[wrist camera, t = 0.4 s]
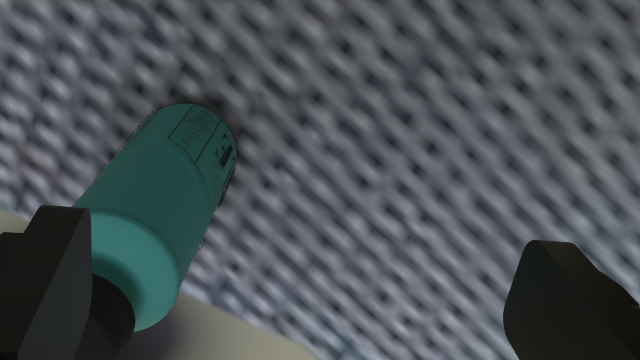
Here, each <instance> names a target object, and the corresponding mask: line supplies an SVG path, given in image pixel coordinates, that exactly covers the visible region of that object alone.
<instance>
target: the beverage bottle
mask: <svg viewBox="0 0 640 360" xmlns="http://www.w3.org/2000/svg"><path fill="white" fill-rule="evenodd" d="M160 108H161V107H160ZM157 109H158V108H157ZM152 112H153V111H152ZM153 113H154V112H153ZM149 115H151V116H148V115H147V117H149V118H147V119H148V120H147V121H146V122H145V123H144V124H143V125H142V126H141V124H139V125H140V126H141V128H140V129H139V128H136V129H139V130H138V131H137V132H136V133H135V134H134V136H133V137H132V138H131V139H130V140H129V139H128V138H129V137H128V138H127V139H128V140H129V141H128V142H126V141H125V142H126V143H127V144H125V146H124V147H123V148H122V147H121V148H122V149H121V150H120V151H119V153H118V154H117V155H116V156H115V157H114V158H113V159H112V161H111V162H110V163H109V164H108V165H107V166H106V168H105V169H104V170H103V172H102V173H101V174H100V176H99V177H98V178H97V179H96V178H95V179H96V180H95V181H94V182H93V183H92V185H91V186H90V187H89V188H88V189H87V190H86V191H85V193H84V194H83V195H82V196H81V197H80V198H79V199H78V200H77V202H76V203H75V204H74V205H73V206H72V207H78V208H88V209H89V211H90V215H91V240H92V297H91V304H90V310H89V315H88V319H87V322H86V325H85V328H84V331H83V333H82V336H81V339H80V342H79V345H78V348H77V351H76V353H75V356H74V359H73V360H116V359H117V357H118V355H119V354H120V352H121V351H122V350H123V349H124V348H125V347H126V345H127V344H128V342H129V340H130V338H131V336H132V334H133V332H134V331H138V330H142V329H145V328H147V327H150V326H152V325H153V324H155V323H157V322H158V321H159V320H161V319H162V318H163V317H164V316H165V315H166V314H167V313H168V312H169V311H170V309H171V308H172V306H173V304H174V303H175V301H176V298H177V296H178V292H179V288H180V286H181V284H182V281H183V279H184V277H185V275H186V272H187V270H188V268H189V265H190V263H191V261H192V259H193V257H194V255H195V253H196V251H198V250H199V249H198V247H199V245H200V243H201V241H202V239H203V236H204V234H205V232H206V230H207V227H208V226H209V223H210V221H211V218H212V216H213V214H214V212H216V211H217V210H216V207H217V208H219V206H220V204H221V203H219V201H220V202H222V201H221V199H222V197H223V193H224V191H225V192H227V190H226V189H228V188H227V187H229V186H228V185H230V184H229V182H230V180H232V179H231V178H233V177H232V175H233V176H234V174H233V173H234V170H236V169H235V167H234V166H235V162H236V163H238V162H237V161H236V160H237V153H236V146H237V145H236V146H235V143H236V142H235V141H234V140H235V139H234V137H233V135H232V133H231V131H230V129H229V128H228V126H227V125H226V124H225V122H224V121H223V120H222V119H221V118H220V117H219V116H217V115H216V114H215V113H213V112H212V111H210V110H208V109H206V108H204V107H201V106H198V105H194V104H186V103H184V104H174V105H170V106H167V107H164V108H162V109H160V110H158V111H156V112H155V113H154V114H149ZM144 121H145V119H144ZM142 123H143V121H142ZM140 126H139V127H140ZM135 131H136V130H135ZM133 133H134V132H133ZM133 133H132V134H133ZM130 136H131V135H130ZM125 142H124V143H125ZM122 145H123V144H122ZM119 148H120V147H119ZM117 151H118V150H117ZM117 151H116V152H117ZM237 151H238V150H237ZM109 160H110V159H109ZM109 160H108V161H109ZM236 165H237V164H236ZM236 168H237V167H236ZM101 169H102V168H101ZM96 177H97V176H96ZM229 178H230V179H229ZM228 180H229V181H228ZM225 187H226V188H225ZM224 189H225V190H224ZM225 194H226V193H224V196H225ZM221 196H222V197H221ZM220 198H221V199H220ZM223 198H224V197H223ZM222 200H223V199H222ZM218 203H219V206H218ZM207 231H208V230H207ZM206 235H207V234H206ZM204 241H205V240H204ZM202 246H203V245H202ZM197 249H198V250H197ZM200 251H201V250H200ZM194 262H195V261H194ZM189 269H190V268H189Z"/></svg>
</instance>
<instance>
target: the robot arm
mask: <svg viewBox="0 0 640 360" xmlns="http://www.w3.org/2000/svg"><path fill="white" fill-rule="evenodd" d="M91 297H92V240H91V215H90V211H89V209H88V208H78V207H64V206H50V205H41V206H40V207H39V209H38V210H37V212H36V213H35V215H34V217H33V218H32V220H31V222H30V223H29V225H28V227H27V228H26V230H25V231H24V233H11V232H4V233H2V234H0V360H73V359H74V356H75V353H76V351H77V348H78V345H79V342H80V339H81V336H82V333H83V331H84V328H85V325H86V322H87V319H88V315H89V310H90V304H91ZM503 324H504V330H505V334H506V337H507V339H508V341H509V342H510V344H511V346H512V348H513V349H514V351H515V353H516V355H517V356H518V358H519V360H640V308H639V304H638V303H637V302H636V301H635V300H634V299H633V298H632V297H631V295H630V294H629V293H628V292H627V291H626V290H625V289H624V288H623V287H622V286H621V285H619V284H618V283H616V282H615V281H613V280H612V279H610V278H609V277H607V276H606V275H604V274H603V273H601V272H600V271H599V270H598V269H597V268H596V267H595V266H594V265H593V264H592V263H591V262H590V261H589V260H588V258H587V257H586V256H585V255H584V254H583V253H582V252H581V251H580V250H579V249H578V247H577V246H576V245H574V244H573V243H570V242H557V241H542V240H532V241H530V242H529V243H528V244H527V245H526V246H525V248H524V250H523V253H522V256H521V259H520V262H519V265H518V268H517V271H516V274H515V277H514V279H513V282H512V285H511V288H510V291H509V294H508V297H507V300H506V303H505V307H504V312H503Z"/></svg>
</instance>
